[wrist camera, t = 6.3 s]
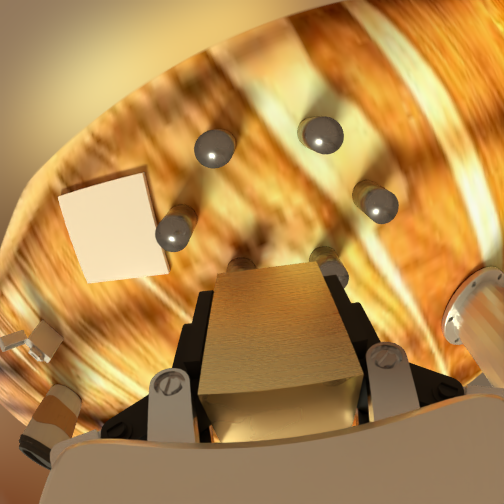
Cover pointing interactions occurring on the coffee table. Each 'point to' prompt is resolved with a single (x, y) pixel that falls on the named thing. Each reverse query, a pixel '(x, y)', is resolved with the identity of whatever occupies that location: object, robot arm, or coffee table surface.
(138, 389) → the coffee table surface
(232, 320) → the tan rectangular block
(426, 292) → the coffee table surface
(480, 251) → the coffee table surface
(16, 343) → the lighter
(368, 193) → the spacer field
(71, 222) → the coaster
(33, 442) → the coffee cup
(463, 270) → the coffee table surface
